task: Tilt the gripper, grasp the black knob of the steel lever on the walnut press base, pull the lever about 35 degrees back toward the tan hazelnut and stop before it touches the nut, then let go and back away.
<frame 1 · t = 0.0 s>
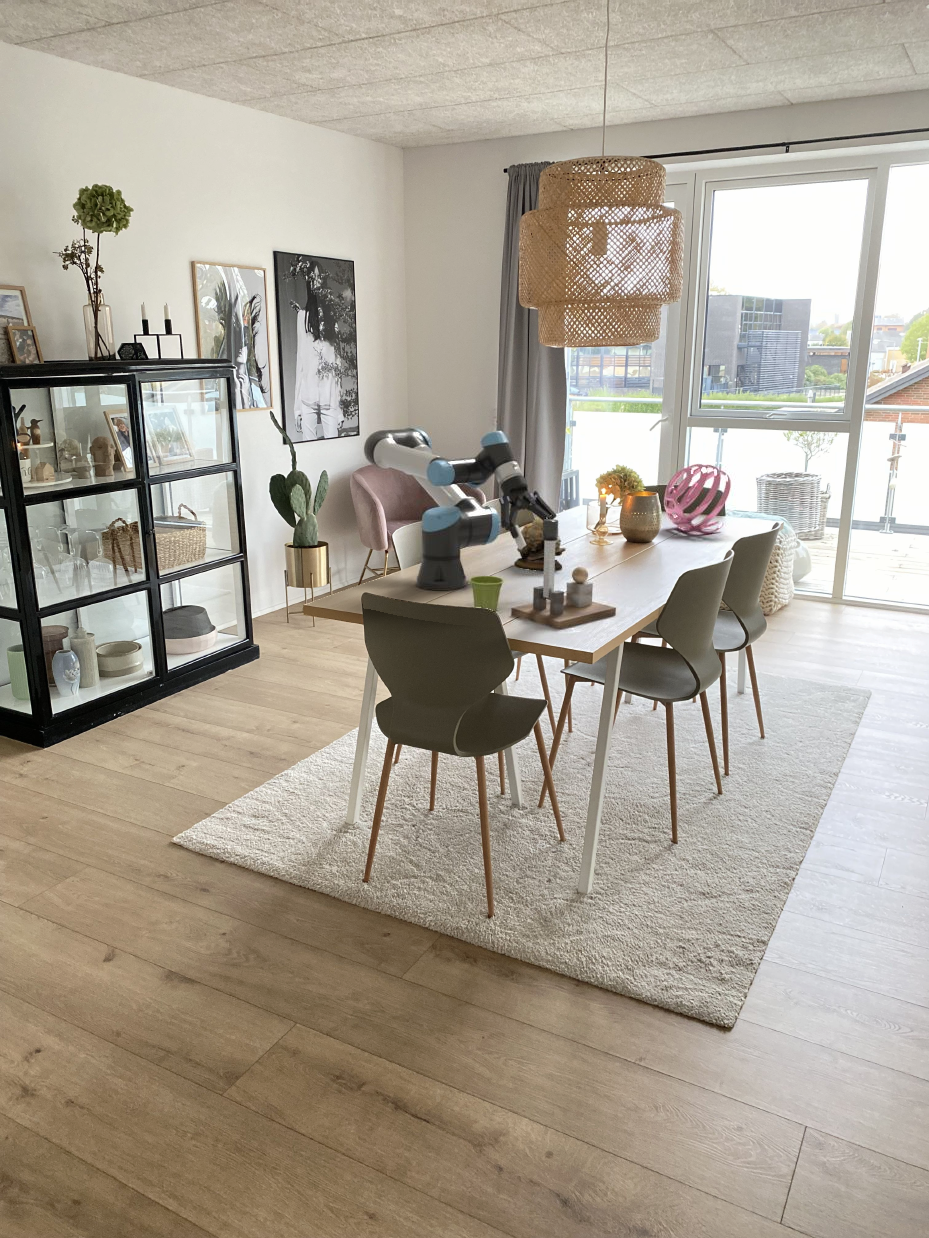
hand: (540, 544, 272), 15 cm above the table, tool tilted 35°, fingers open, 13 cm apart
plant pot: (486, 610, 261), on the table
spiral basket: (692, 531, 378), on the table
lever: (549, 560, 248), point 16 cm above the table, hinge at 0.0°
press base: (563, 614, 256), on the table
hazelnut: (579, 582, 258), resting on press base
brown lumpy mound: (539, 567, 314), on the table
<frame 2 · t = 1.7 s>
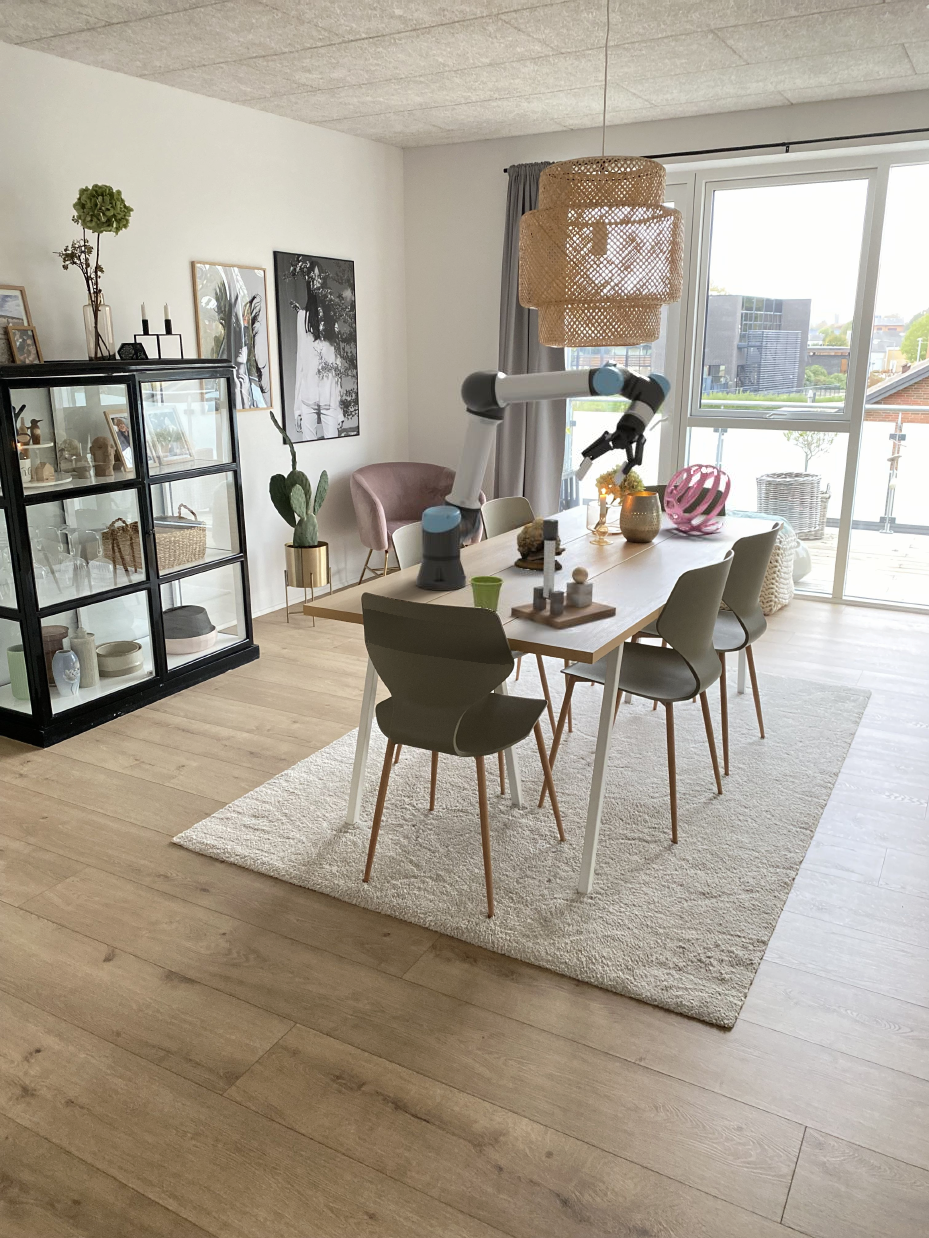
hand: (596, 480, 258), 35 cm above the table, tool tilted 45°, fingers open, 13 cm apart
nothing on the table moved.
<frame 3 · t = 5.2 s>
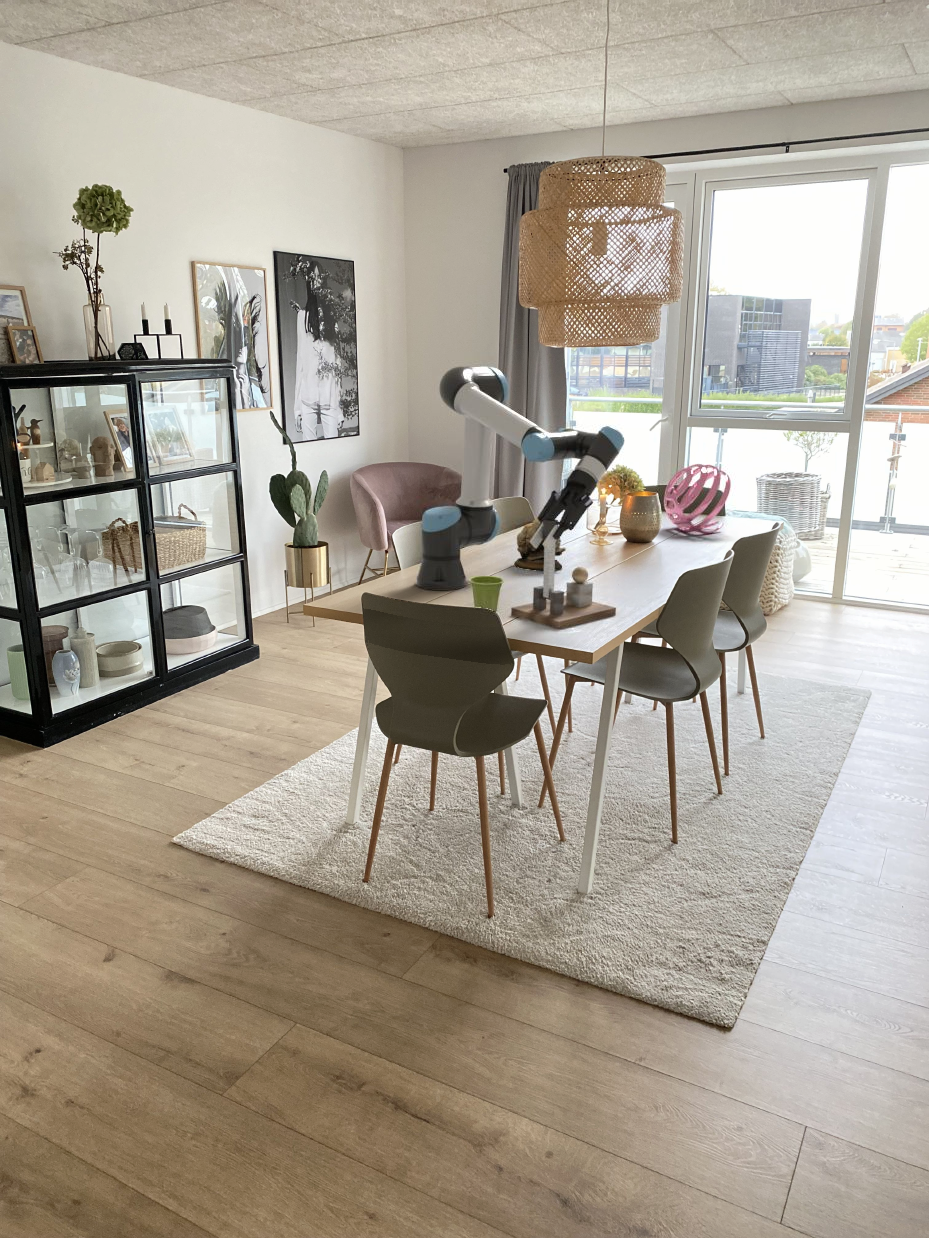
hand: (539, 546, 245), 20 cm above the table, tool tilted 45°, fingers closed on lever, 4 cm apart
lever: (549, 560, 248), point 16 cm above the table, hinge at 0.0°, touching gripper
everything else where it was.
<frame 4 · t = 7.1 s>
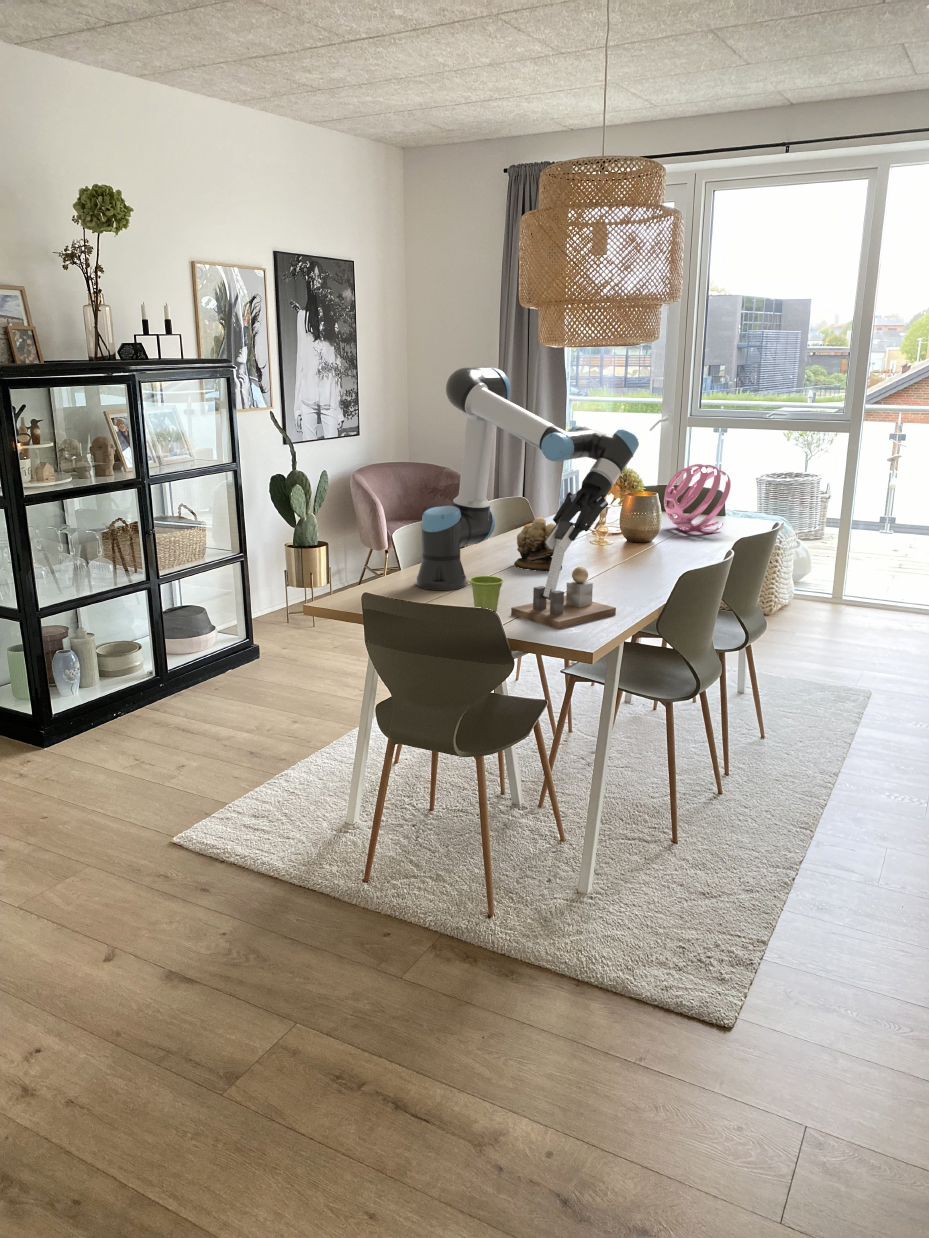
hand: (555, 546, 249), 19 cm above the table, tool tilted 45°, fingers closed on lever, 4 cm apart
lever: (557, 560, 250), point 15 cm above the table, hinge at 17.0°, touching gripper
everything else where it was.
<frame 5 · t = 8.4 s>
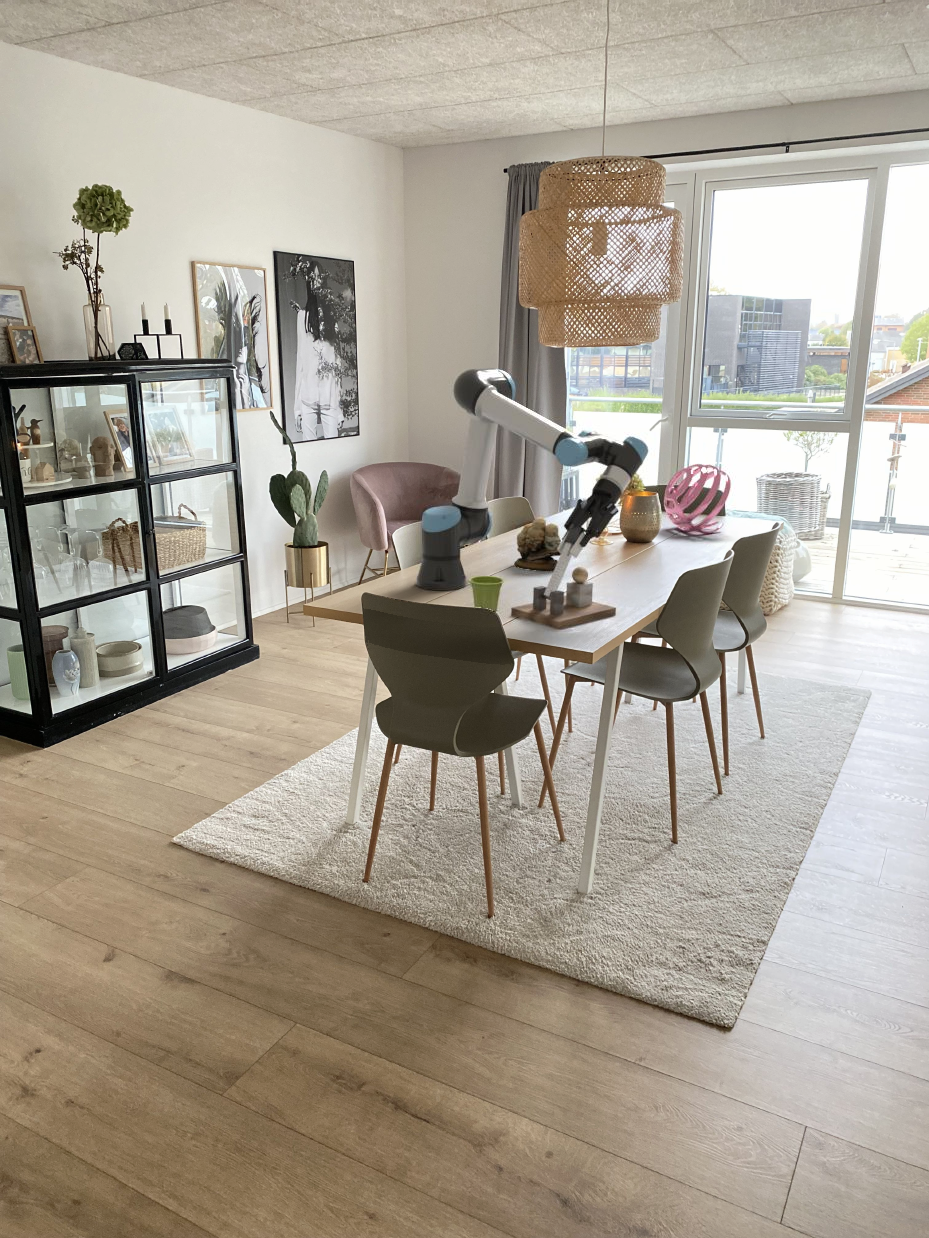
hand: (566, 553, 252), 17 cm above the table, tool tilted 45°, fingers closed on lever, 4 cm apart
lever: (562, 563, 252), point 14 cm above the table, hinge at 31.3°, touching gripper
everything else where it was.
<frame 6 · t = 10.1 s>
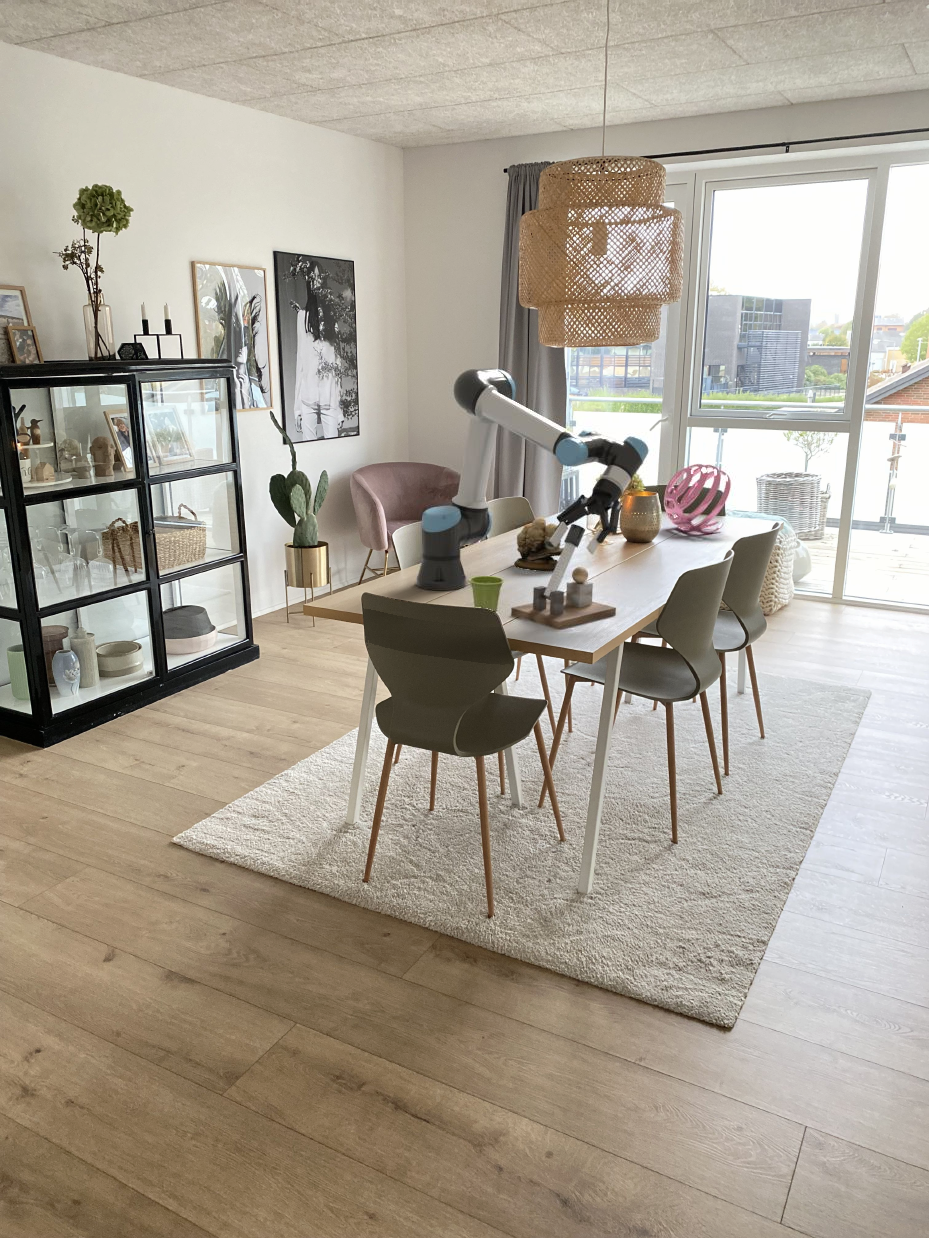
hand: (570, 547, 253), 18 cm above the table, tool tilted 45°, fingers open, 13 cm apart
lever: (562, 563, 252), point 14 cm above the table, hinge at 31.4°
everything else where it was.
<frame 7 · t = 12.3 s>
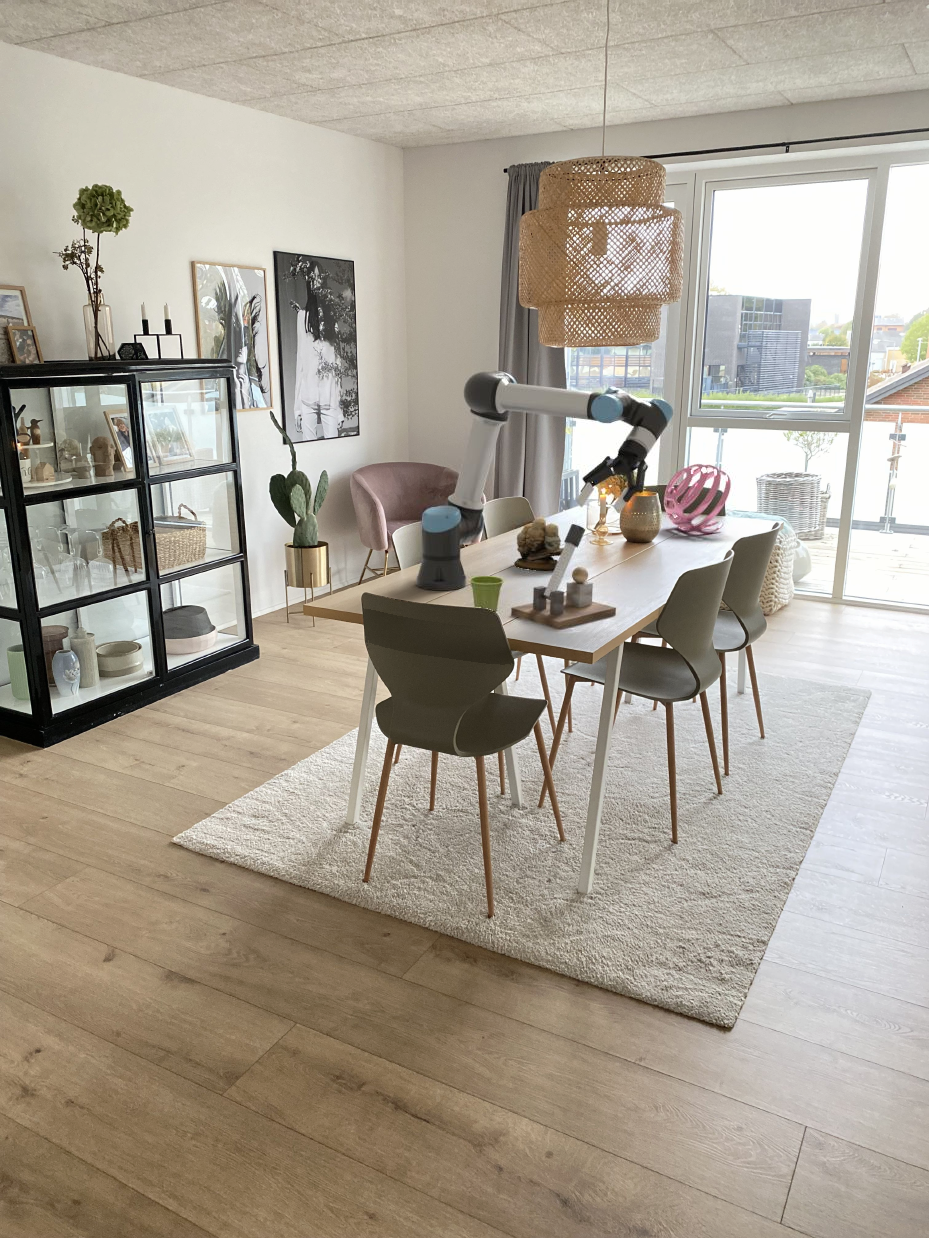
hand: (597, 506, 256), 28 cm above the table, tool tilted 45°, fingers open, 13 cm apart
nothing on the table moved.
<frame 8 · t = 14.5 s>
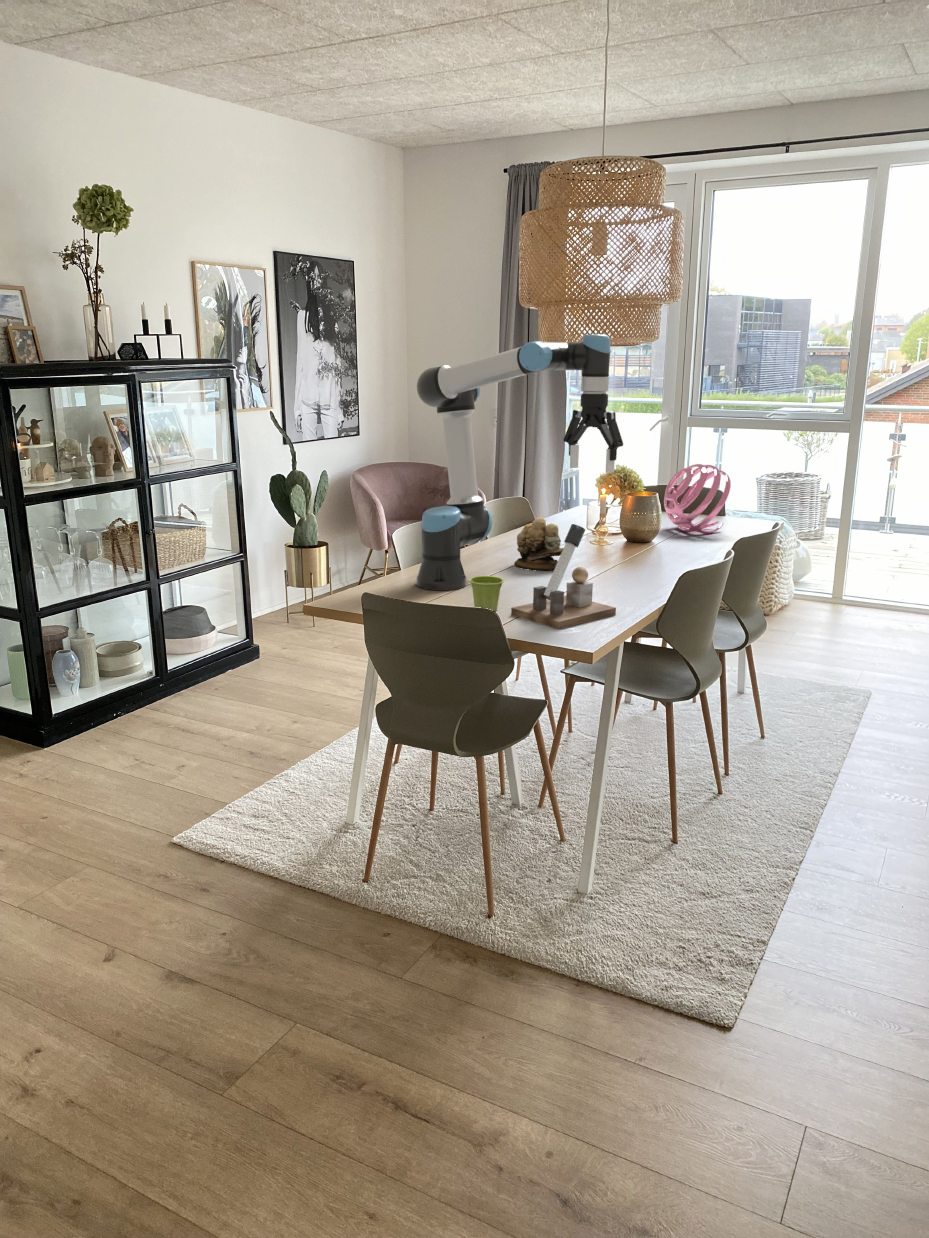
hand: (591, 470, 266), 37 cm above the table, tool pointing down, fingers open, 13 cm apart
nothing on the table moved.
at the end: lever at +31° (first picture: +0°); lever touching nothing; the gripper is holding nothing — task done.
